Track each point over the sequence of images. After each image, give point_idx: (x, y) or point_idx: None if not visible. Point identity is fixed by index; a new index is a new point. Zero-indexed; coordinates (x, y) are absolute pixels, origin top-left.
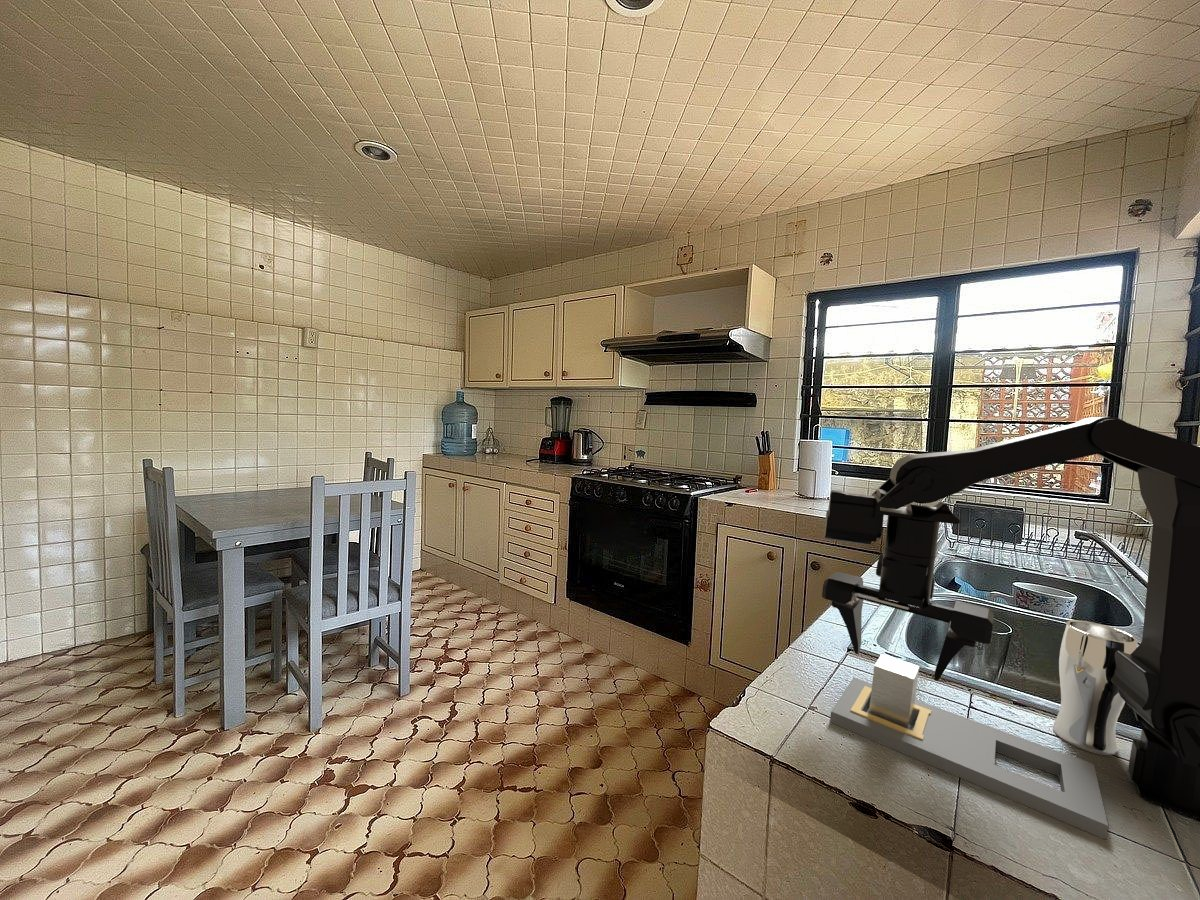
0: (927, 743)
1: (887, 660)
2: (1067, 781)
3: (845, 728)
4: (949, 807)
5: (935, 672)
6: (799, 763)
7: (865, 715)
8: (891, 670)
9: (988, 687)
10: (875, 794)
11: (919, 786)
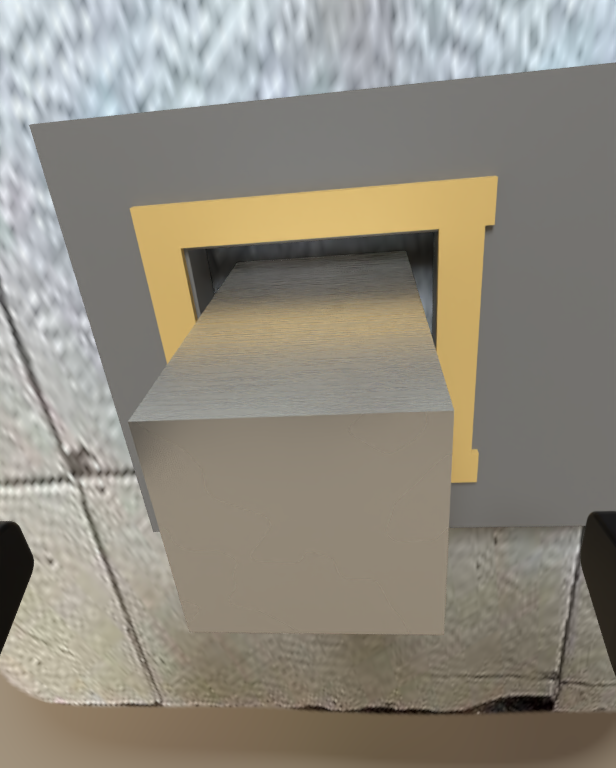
0: (493, 483)
1: (215, 501)
2: None
3: None
4: (552, 623)
5: (612, 656)
6: (213, 691)
7: None
8: (295, 622)
9: None
10: (386, 680)
11: (476, 599)
